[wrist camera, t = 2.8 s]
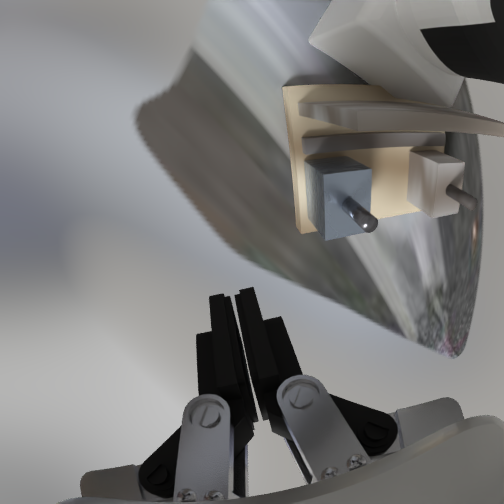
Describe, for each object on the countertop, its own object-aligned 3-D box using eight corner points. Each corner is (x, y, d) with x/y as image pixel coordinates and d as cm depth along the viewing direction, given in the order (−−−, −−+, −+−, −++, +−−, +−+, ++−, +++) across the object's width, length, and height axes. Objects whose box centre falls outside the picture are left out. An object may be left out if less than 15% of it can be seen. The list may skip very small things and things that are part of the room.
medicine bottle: (416, 35, 14) (543, 37, 3) (384, 98, 16) (523, 133, 6) (345, -22, 11) (461, -75, 1) (304, 43, 14) (431, -2, 4)
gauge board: (282, 86, 15) (342, 81, 8) (434, 91, 16) (516, 110, 9) (296, 226, 20) (343, 301, 13) (429, 202, 21) (494, 250, 14)
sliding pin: (303, 160, 17) (344, 190, 12) (346, 155, 17) (397, 183, 12) (307, 217, 19) (342, 264, 14) (347, 210, 19) (390, 252, 14)
